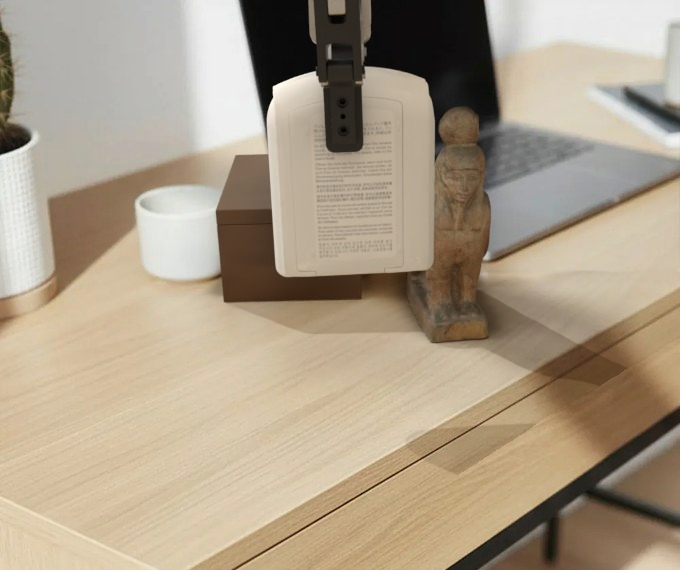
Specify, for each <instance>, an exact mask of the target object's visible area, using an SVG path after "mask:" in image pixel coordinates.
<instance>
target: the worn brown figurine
mask: <svg viewBox="0 0 680 570" xmlns="http://www.w3.org/2000/svg"><path fill="white" fill-rule="evenodd" d="M479 123H480V116H479V115H478V113H475V111H474V110H473V108H471V107H469V106H467V105H464V106H462V105H461V106H454V107H451V108H450V109H448V110H447V111H446V112H445V113H444V114H443V116H442V117H441V118H440V120H439V121H438V126H437V128H438V129H437V131H438V134H439V137H440V139H441V140H442V142H443V143H444V145H445V146H444V147H443V148H441V150H440V151H439V153H438V155H437V156H436V160H435V177H434V261H433V264H432V266H431V267H430V268H429V269H427V270H423V271H408V272H406V275H407V276H406V283H405V286H404V291H405V294H406V297H407V300H408V301H409V308H410V310H411V311H412V313H413V315H414V317H415V318H416V321H417V322H418V326H420V329H422V330H423V333H424V334H425V337H426V338H427V340H429V342H431V343H440V342H452V341H453V342H454V341H466V340H479V339H486V338H489V335H490V334H489V331H488V318H487V316H486V315H485V312H484V310H483V309H482V307H481V306H480V304H479V302H478V300H477V298H476V297H477V296H476V295H477V289H478V282H479V278H480V274H481V269H482V265H483V259H484V258H485V256H486V255H487V253H488V250H489V245H490V237H491V236H490V235H491V227H492V226H491V225H492V206H491V200H490V196H489V194H488V193H487V191H484V184H485V178H486V171H487V170H486V169H487V167H486V158H485V154H484V151H483V149H482V148H481V147H480V146H479V145H478V141H479V137H480V124H479Z"/></svg>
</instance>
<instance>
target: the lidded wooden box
mask: <svg viewBox="0 0 680 570" xmlns="http://www.w3.org/2000/svg"><path fill="white" fill-rule="evenodd" d="M215 221H216V233H217V243H218V244H217V245H218V253H219V255H218V256H219V266H220V275H221V276H220V277H221V287H222V300H223V302H224V303H235V302H237V303H238V302H241V303H242V302H243V303H244V302H245V303H246V302H285V301H287V302H289V301H291V302H292V301H293V302H295V301H332V300H333V301H338V300H362V297H363V296H362V294H363V293H362V292H363V274H350V275H330V276H310V277H284V276H282V275H280V274H279V273H278V272H277V270H276V264H275V249H274V233H273V217H272V201H271V185H270V169H269V153H259V154H258V153H257V154H255V153H254V154H235V156H234V159H233V161H232V164H231V167H230V169H229V172H228V175H227V177H226V180H225V184H224V186H223V189H222V192H221V194H220V197H219V200H218V202H217V206H216V208H215Z"/></svg>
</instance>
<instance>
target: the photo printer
mask: <svg viewBox="0 0 680 570" xmlns="http://www.w3.org/2000/svg"><path fill="white" fill-rule="evenodd" d="M365 74H366V79H363V86H362V111H363V147H362V149H361V150H360V151H358V152H342V153H333V152H330V151H329V150H328V149H327V147H326V136H325V116H324V96H323V87H321V83H319V81H318V76H316V70H315V71H311V72H307V73H304V74H300V75H298V76H294V77H292V78H289V79H287V80H284V81H282V82H280V83H277V84H276V85H273V86H272V96H273V97H272V99H271V101H270V104H269V106H268V110H267V113H266V131H267V132H266V135H267V151H268V153H267V154H269V169H270V185H271V201H272V217H273V233H274V249H275V264H276V270H277V272H278V273H279V274H280V275H282V276H284V277H310V276H330V275H350V274H362V275H367V274H392V273H393V274H394V273H407V272H408V271H423V270H427V269H429V268H430V267H431V266H432V264H433V261H434V177H435V162H436V160H435V158H436V157H435V156H436V153H435V152H436V151H435V150H436V149H435V148H436V120H435V119H436V117H435V113H434V111H435V110H434V105H433V101H432V98H431V96H430V90H429V84H428V82H427V81H426V79H425V78H423V77H422V76H421V77H420V76H418V75H415V74H412V73H409V72H405V71H402V70H398V69H397V70H396V69H392V68H386V67H379V66H378V67H377V66H365Z"/></svg>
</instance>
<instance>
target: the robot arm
mask: <svg viewBox="0 0 680 570" xmlns="http://www.w3.org/2000/svg"><path fill="white" fill-rule="evenodd" d="M371 2H372V1H371V0H308V25H309V36H310V39H311V42H313V43H314V44H315V45H316V58H317V59H316V60H317V66H315V71H316V76H318V81H319V83H321V87H323V96H324V116H325V136H326V147H327V149H328V150H329V151H330V152H333V153H342V152H358V151H360V150H361V149H362V147H363V111H362V86H363V79H366V74H365V67H366V65H365V64H364V63H365V57H367V47H365V44H366V43H367V42H368V41H369V40H370V38H371V34H372V30H371V28H372V27H371V25H372V5H371Z"/></svg>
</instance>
